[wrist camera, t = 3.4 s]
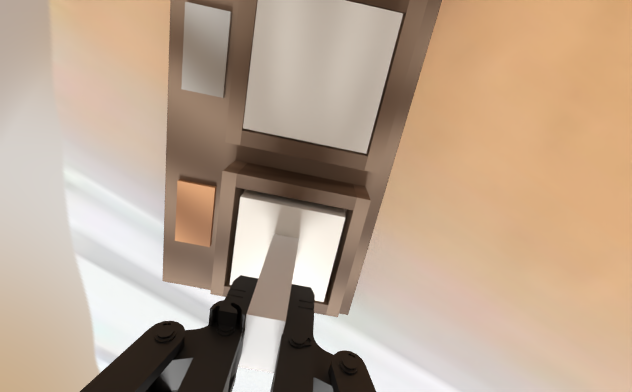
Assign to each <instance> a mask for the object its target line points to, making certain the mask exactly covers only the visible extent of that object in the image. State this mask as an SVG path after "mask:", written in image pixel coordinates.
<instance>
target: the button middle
mask: <svg viewBox="0 0 632 392" xmlns="http://www.w3.org/2000/svg"><path fill="white" fill-rule="evenodd" d="M402 17H403V13H399V12H394V11H390V10H385V9H381V8H377V7H372V6H368V5H364V4H359V3H355V2H350V1H346V0H258V2H257V11H256V19H255V28H254V37H253V45H252V54H251V63H250V72H249V80H248V89H247V98H246V106H245V115H244V124H243V128H244V129H249V130H254V131H259V132H263V133H268V134H273V135H278V136H283V137H288V138H293V139H297V140H302V141H307V142H312V143H317V144H322V145H326V146H331V147H336V148H341V149H346V150H351V151H355V152H360V153H365V154H366V153H367V149H368V145H369V142H370V138H371V134H372V130H373V126H374V123H375V119H376V115H377V111H378V108H379V104H380V100H381V96H382V92H383V89H384V85H385V81H386V77H387V73H388V70H389V66H390V62H391V58H392V54H393V51H394V47H395V43H396V39H397V36H398V32H399V28H400V24H401V20H402Z"/></svg>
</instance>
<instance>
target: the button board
mask: <svg viewBox="0 0 632 392" xmlns="http://www.w3.org/2000/svg"><path fill="white" fill-rule="evenodd" d="M346 1H350V2H355V3H359V4H364V5H368V6H372V7H377V8H381V9H385V10H390V11H394V12H399V13H403V17H402V20H401V24H400V28H399V32H398V36H397V39H396V43H395V47H394V51H393V54H392V58H391V62H390V66H389V70H388V73H387V77H386V81H385V85H384V89H383V92H382V96H381V100H380V104H379V108H378V111H377V115H376V119H375V123H374V126H373V130H372V134H371V138H370V142H369V145H368V149H367V153H366V154H365V153H360V152H355V151H351V150H346V149H341V148H336V147H331V146H326V145H322V144H317V143H312V142H307V141H302V140H297V139H293V138H288V137H283V136H278V135H273V134H268V133H263V132H259V131H254V130H249V129H244V128H243V124H244V115H245V106H246V98H247V89H248V80H249V72H250V63H251V54H252V45H253V37H254V28H255V19H256V11H257V2H258V0H171V6H170V41H169V76H168V111H167V147H166V182H165V217H164V252H163V281H165V282H170V283H176V284H181V285H187V286H192V287H198V288H203V289H209V290H211V294H214V295H219V296H224V297H226V296H227V294H228V291H229V290H230V287H231V285H230V278H231V269H232V261H233V253H234V245H235V236H236V228H237V220H238V212H239V204H240V197H241V195H242V194H243V193H244V191H245V190H246V189H247V190H252V191H257V192H263V193H268V194H273V195H278V196H283V197H288V198H293V199H298V200H303V201H308V202H313V203H318V204H323V205H328V206H333V207H338V208H343V209H344V211H345V221H344V225H343V229H342V233H341V237H340V241H339V244H338V248H337V252H336V256H335V260H334V264H333V268H332V272H331V275H330V279H329V283H328V287H327V291H326V295H325V299H324V302H320V301H314V313H318V314H323V315H329V316H334V317H338V314H339V313H340V314H346V315H348V313H349V310H350V306H351V303H352V300H353V296H354V293H355V290H356V286H357V283H358V279H359V276H360V273H361V269H362V266H363V263H364V259H365V256H366V253H367V249H368V246H369V243H370V239H371V236H372V233H373V229H374V226H375V223H376V219H377V216H378V213H379V209H380V206H381V203H382V199H383V196H384V192H385V189H386V186H387V182H388V179H389V176H390V172H391V169H392V166H393V162H394V159H395V156H396V152H397V149H398V146H399V142H400V139H401V136H402V132H403V129H404V126H405V122H406V119H407V116H408V112H409V109H410V105H411V102H412V99H413V95H414V92H415V89H416V85H417V82H418V79H419V75H420V72H421V69H422V65H423V62H424V59H425V55H426V52H427V49H428V45H429V42H430V39H431V35H432V32H433V29H434V25H435V22H436V19H437V15H438V12H439V8H440V5H441V2H442V0H346Z"/></svg>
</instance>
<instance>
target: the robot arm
mask: <svg viewBox="0 0 632 392" xmlns="http://www.w3.org/2000/svg"><path fill="white" fill-rule="evenodd" d="M298 242H299V239H298V238H293V237H287V236H282V235H277V234H273V237H272V240H271V243H270V246H269V249H268V252H267V255H266V258H265V261H264V264H263V267H262V270H261V273H260V276H259V278H253V277H248V276H242V275H240V276H239V277H238V278H236V279H235V280H234V281H233V283H232V285H231V287H230V290H229V291H228V294H227V296H226V298H225V300H223V301H219V302H217V303H216V304H214V305H213V306H212V307H211V308H210V316H209V325H208V326H206V327H204V328H201V329H195V330H185V329H184V327H183V325H181V324H180V323H178V322H174V321H163V322H160V323H157V324H155V325H154V326H152V327H151V328H149V329H148V330H147V331H146V332H145V333H144V334H143V335H142V336H141V337H140V338H138V339H137V340H136V341H135V342H134V343H133V344H132V345H131V346H130V347H128V348H127V349H126V350H125V351H124V352H123V353H122V354H121V355H120V356H119V357H117V358H116V359H115V360H114V361H113V362H112V363H111V364H110V365H109V366H108V367H106V368H105V369H104V370H103V371H102V372H101V373H100V374H99V375H98V376H96V377H95V378H94V379H93V380H92V381H91V382H90V383H89V384H88V385H87V386H86V387H84V388H83V389H82V390H81V391H80V392H232V389H233V386H234V383H235V378H236V372H237V368H238V367H240V368H245V369H251V370H257V371H263V372H269V373H274V377H273V382H272V387H271V391H270V392H376V390H375V388H374V385H373V383H372V380H371V378H370V375H369V373H368V370H367V368H366V365H365V363H364V362H363V360H362V359H361V358H360V357H359V356H358V355H357V354H355V353H353V352H351V351H339V352H337V353H336V354H334V355H333V354H331V353H328V352H326V351H325V350H323V349H322V348H320V347H319V346H318V345H317V343H316V342H315V340H314V337H313V324H314V301H315V294H314V292H313V290H312V288H311V287H306V286H301V285H295V284H292V279H293V273H294V267H295V261H296V255H297V249H298ZM238 365H239V366H238Z"/></svg>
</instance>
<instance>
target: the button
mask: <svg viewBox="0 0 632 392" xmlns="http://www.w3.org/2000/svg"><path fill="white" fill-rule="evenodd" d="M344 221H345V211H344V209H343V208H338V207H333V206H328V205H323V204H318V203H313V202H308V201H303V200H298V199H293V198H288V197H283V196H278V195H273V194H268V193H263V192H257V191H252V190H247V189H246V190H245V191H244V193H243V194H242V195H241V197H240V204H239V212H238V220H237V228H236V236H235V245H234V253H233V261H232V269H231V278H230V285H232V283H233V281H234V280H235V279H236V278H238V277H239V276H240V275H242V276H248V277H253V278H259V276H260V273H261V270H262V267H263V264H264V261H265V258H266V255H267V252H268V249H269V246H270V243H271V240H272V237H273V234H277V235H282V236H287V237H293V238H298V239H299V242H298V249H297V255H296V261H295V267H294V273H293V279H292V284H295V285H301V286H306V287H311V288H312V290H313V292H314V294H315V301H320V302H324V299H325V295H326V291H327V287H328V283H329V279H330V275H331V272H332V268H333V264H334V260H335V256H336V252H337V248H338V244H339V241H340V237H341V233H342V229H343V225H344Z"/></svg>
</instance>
